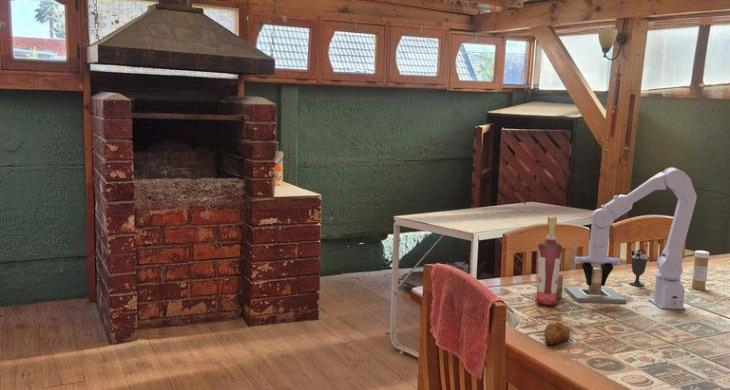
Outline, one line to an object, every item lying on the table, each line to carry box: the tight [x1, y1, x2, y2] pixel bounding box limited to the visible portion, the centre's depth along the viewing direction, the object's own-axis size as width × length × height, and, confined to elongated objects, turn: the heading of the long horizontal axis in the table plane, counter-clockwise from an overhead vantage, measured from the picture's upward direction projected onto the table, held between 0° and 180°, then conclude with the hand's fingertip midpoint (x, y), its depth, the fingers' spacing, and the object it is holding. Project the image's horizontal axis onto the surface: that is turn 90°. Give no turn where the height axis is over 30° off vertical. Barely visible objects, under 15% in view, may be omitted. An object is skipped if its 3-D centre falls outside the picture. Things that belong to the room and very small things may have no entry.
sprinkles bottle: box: [691, 249, 710, 291], centre depth 227 cm, size 5×5×13 cm
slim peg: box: [588, 267, 603, 295], centre depth 213 cm, size 4×4×8 cm
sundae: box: [629, 244, 651, 288], centre depth 228 cm, size 7×7×15 cm
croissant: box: [543, 321, 571, 346], centre depth 172 cm, size 14×7×5 cm, turn 146°
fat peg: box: [556, 273, 564, 299], centre depth 213 cm, size 7×7×7 cm
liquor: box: [534, 216, 563, 307], centre depth 202 cm, size 7×7×28 cm
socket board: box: [564, 286, 627, 304], centre depth 213 cm, size 13×16×1 cm
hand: (595, 285), depth 213 cm, fingers closed on slim peg, 4 cm apart
